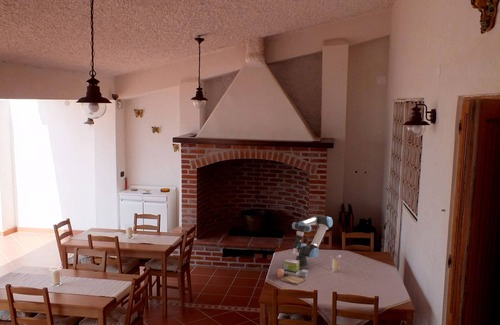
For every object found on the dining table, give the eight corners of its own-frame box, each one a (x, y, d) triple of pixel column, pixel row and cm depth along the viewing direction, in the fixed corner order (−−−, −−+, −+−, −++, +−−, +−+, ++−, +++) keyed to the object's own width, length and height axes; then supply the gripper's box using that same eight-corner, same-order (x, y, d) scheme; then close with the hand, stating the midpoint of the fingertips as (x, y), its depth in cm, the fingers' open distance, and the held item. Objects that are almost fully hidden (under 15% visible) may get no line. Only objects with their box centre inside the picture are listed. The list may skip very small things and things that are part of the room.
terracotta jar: (279, 275, 483) (279, 268, 482) (285, 277, 478) (285, 269, 477) (275, 277, 477) (275, 270, 476) (281, 279, 473) (281, 271, 472)
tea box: (283, 274, 487) (283, 260, 486) (286, 271, 496) (286, 258, 494) (296, 276, 480) (296, 263, 479) (299, 273, 489) (299, 260, 487)
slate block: (303, 274, 485) (303, 269, 484) (308, 275, 481) (308, 270, 481) (300, 276, 481) (300, 270, 480) (305, 277, 477) (305, 272, 476)
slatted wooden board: (289, 276, 481) (289, 274, 481) (305, 280, 468) (305, 279, 468) (281, 280, 469) (281, 279, 469) (297, 285, 456) (297, 283, 456)
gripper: (293, 234, 502) (289, 252, 499) (299, 235, 477) (295, 255, 474) (299, 235, 503) (295, 254, 500) (306, 236, 478) (302, 256, 475)
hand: (295, 254), depth 487 cm, fingers open, 13 cm apart
